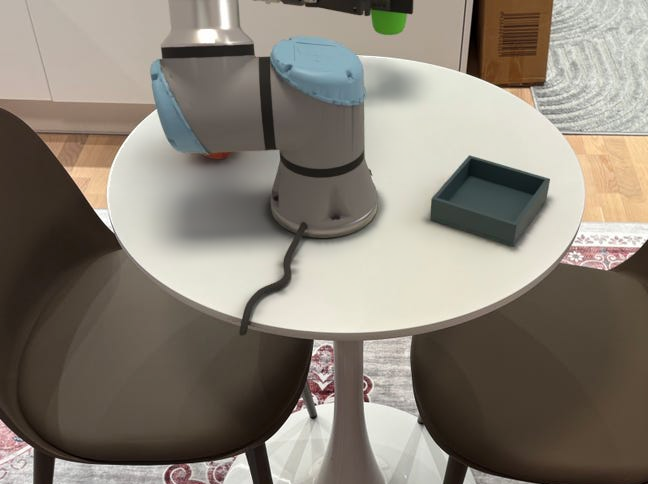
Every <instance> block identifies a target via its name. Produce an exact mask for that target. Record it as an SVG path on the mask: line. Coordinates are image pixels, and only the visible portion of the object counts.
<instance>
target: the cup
mask: <svg viewBox="0 0 648 484" xmlns="http://www.w3.org/2000/svg"><path fill="white" fill-rule="evenodd" d="M370 16H371V22H372V27H373V29H374V31H375V32H376V33H377V34H380V35H384V36H395V35H399V34H401V33H403V31H404V29H405V27H406V23H407V17H408V14H404V13H395V12H387V11H378V10H372V9H371V14H370Z"/></svg>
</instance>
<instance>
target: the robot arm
mask: <svg viewBox="0 0 648 484" xmlns="http://www.w3.org/2000/svg"><path fill="white" fill-rule="evenodd" d="M253 1H256V2H265V4H266V5H271V3H272V4H273V3H275V4H280V3H282V4H283V5H288V6H296V7H303V6H304V7H305V8H316V9H317V8H319V9H324V10H328V11H334V12H339V13H343V14H349V15H354V16H360V17H361V16H364V17H369V16H371V9H372V10H378V11H387V12H395V13H404V14H407V15H413V14H414V0H253ZM167 3H168V12H169V21H170V22H169V23H170V31H169V33H168V35H167V36H166V37H165V38H164V39H163V41H162V42H161V43H160V51H161V58H157V59H156V60H153V61H152V63H151V64H150V69H149V71H150V72H149V73H150V78H151V90H152V95H153V99H154V103H155V108H156V111H157V116H158V119H159V122H160V125H161V129H162V132H163V133H164V135H165V138H166V140H167V143H169V145H170V146H171V147H172V148H173V149H174V150H175V151H177V152H179V153H182V154H201V153H205V154H206V155H209V154H211V153H218V152H233V153H235V152H238V153H239V152H262V151H263V152H266V151H279V163H278V167H277V170H276V173H275V176H274V181H273V184H272V188H271V192H270V209H271V214H272V216H273V219H274V220H275V222H277V223H278V224H279V225H280V226H281V227H283V228H284V229H286V230H287V231H289V232H292V233H293V234H295V235H294V237H293V239H292V241H291V243H290V245H289V247H288V248H287V250H286V253H285V255H284V258H283V270H284V273H283V276H282V277H281V278H280V279H279V280H277V281H275V282H272V283H270V284H268V285H265V286H263V287H261V288H259V289H258V290H256V291H255V293H253V294H252V296H251V297H250V298H249V299H248V301H247V303H246V305H245V306H244V310H243V314H242V317H241V322H240V327H239V336H245V335H247V333H248V329H249V324H250V319H251V316H252V311H253V309H254V306H255V304H257V302H258V301H259V300H261V298H262V297H263V296H265V295H267V294H268V293H271V292H274V291H276V290H279V289H281V288H282V287H283V288H284V286H286V285H287V284H288V282H289V281H290V280H291V277H292V268H291V261H292V258H293V255H294V253H295V251H296V250H297V248H298V245H299V244H300V242H301V240H302V239H303V236H304V237H308V238H319V239H325V238H326V239H328V238H336V237H337V238H338V237H342V236H346V235H350V234H352V233H355V232H356V231H359V230H361V229H362V228H364V227H365V226H367V225H368V224H369V223H370V222H371V221H372V220H373V219H374V217H375V215H376V214H377V210H378V190H377V187H376V184H375V183H374V181H373V178H372V177H373V173H372V170H371V169H370V168H369V166H368V163H367V161H366V157H365V156H366V155H365V153H366V152H365V147H366V146H365V145H366V143H365V142H366V141H365V138H366V137H365V100H366V99H367V89H366V86H365V72H364V66H363V63H362V61H361V59H360V58H359V56H358V54H356V53H355V52H354V51H353V50H352V49H351V48H349V47H347V46H345V45H343V44H342V43H339V42H338V41H335V40H332V39H328V38H324V37H318V36H309V35H307V36H306V35H299V36H292V37H289V38H288V39H282V40H280V41H277V43H276V44H274V46H273V47H272V50H271V52H270V54H269V56H256V53H255V41H254V40H253V39H252V38H251V37H250V36H249V35H248V34H247V33H246V32H245V31H244V30H243V28H242V26H241V18H240V17H241V16H240V5H239V0H167ZM246 450H247V456H248V462H249V469H250V475H251V479H252V480H251V481H252V484H260V479H259V473H258V467H257V461H256V455H255V449H254V448H253V447H251V446H248V445H246Z"/></svg>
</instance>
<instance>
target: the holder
mask: <svg viewBox="0 0 648 484" xmlns="http://www.w3.org/2000/svg"><path fill="white" fill-rule="evenodd" d="M550 183H551V178H548V177H545V176H542V175H538V174H535V173H532V172H528V171H525V170H521V169H519V168H514V167H512V166H508V165H503V164H501V163H497V162H495V161H491V160H487V159H484V158H480V157H477V156H473V155H470V154H469V155H468V156H467V157H465V159H464V160H463V162H462V163H461V164H460V165H459V166H458V167H457V168H456V170H455V171H454V172H453V173H452V174H451V175H450V176H449V177H448V179H447V180H446V181H445V182H444V184H443V185H442V186H441V187H440V188H439V189H438V190H437V191H436V192H435V194H434V195H433V196H432V197H431V199H430V201H431V202H430V213H429V214H430V215H429V217H430V218H429V220H430V221H434V222H437V223H440V224H443V225H446V226H449V227H451V228H455V229H457V230H461V231H464V232H467V233H469V234H473V235H476V236H479V237H482V238H485V239H488V240H492V241H494V242H497V243H501V244H504V245H507V246H509V247H515V245H516V244H517V242H518V241H519V239H520V238H521V237H522V235H523V234H524V232H525V231H526V229H527V228H528V227H529V225H530V224H531V222H532V221H533V219H534V218H535V217H536V215H537V214H538V212H539V211H540V210H541V208H542V207H543V205H544V204H545V203H546V201H547V198H548V193H549V188H550Z"/></svg>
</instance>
